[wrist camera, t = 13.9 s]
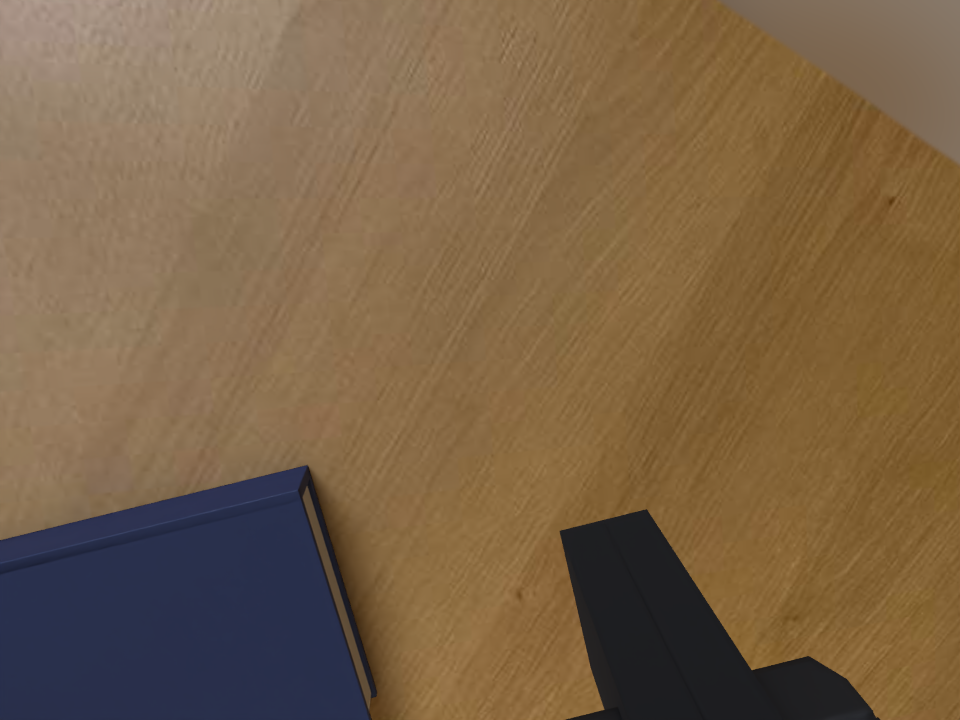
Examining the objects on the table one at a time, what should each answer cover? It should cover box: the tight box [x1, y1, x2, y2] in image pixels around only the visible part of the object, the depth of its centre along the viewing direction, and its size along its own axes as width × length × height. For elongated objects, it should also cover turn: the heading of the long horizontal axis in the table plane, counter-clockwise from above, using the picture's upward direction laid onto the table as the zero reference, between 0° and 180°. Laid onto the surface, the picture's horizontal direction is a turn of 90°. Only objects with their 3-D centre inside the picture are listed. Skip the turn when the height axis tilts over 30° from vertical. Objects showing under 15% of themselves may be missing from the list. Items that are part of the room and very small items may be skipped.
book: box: [0, 465, 377, 720], centre depth 35 cm, size 24×13×3 cm, turn 103°
